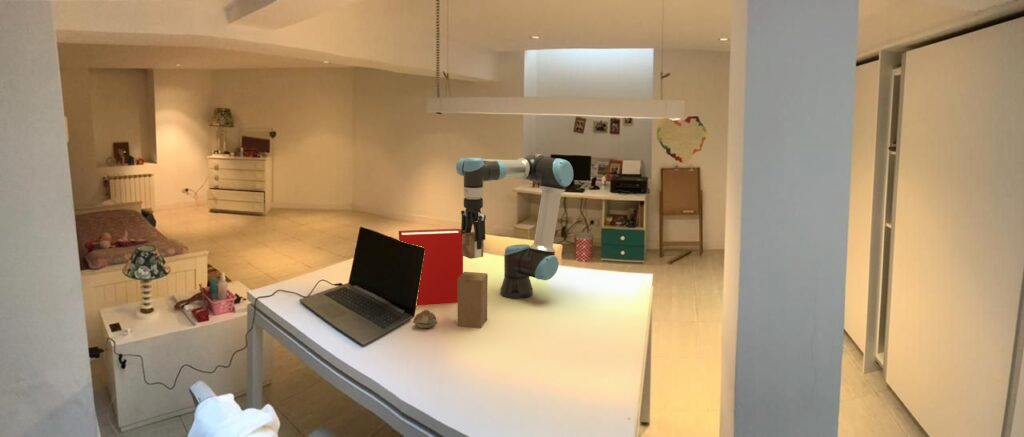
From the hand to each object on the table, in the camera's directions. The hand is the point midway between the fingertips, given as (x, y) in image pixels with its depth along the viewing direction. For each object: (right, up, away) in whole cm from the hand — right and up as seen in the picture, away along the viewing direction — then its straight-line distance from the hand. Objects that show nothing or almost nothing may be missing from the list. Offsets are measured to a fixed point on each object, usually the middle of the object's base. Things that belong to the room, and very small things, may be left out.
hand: (472, 254), depth 248 cm
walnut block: (0, 0, 0) cm, 1 cm away
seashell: (-19, -29, 0) cm, 35 cm away
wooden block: (0, -28, +6) cm, 29 cm away
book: (-20, -23, +30) cm, 43 cm away
